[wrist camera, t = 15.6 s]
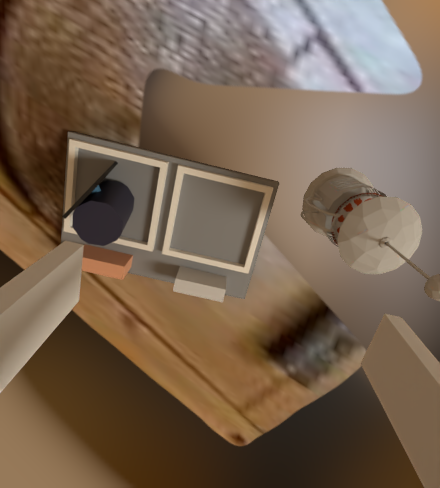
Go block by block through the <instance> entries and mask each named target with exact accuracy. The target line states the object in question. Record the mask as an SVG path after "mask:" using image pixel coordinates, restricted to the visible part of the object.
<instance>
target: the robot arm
mask: <svg viewBox="0 0 440 488" xmlns="http://www.w3.org/2000/svg"><path fill="white" fill-rule="evenodd" d="M83 248H84V245H82V244H78V243H74V242H69V241H64V242H63V243H62V244H60V245H59V246H57V247H56V248H55V249H53V250H52V251H50V252H49V253H48V254H46V255H45V256H44V257H42V258H41V259H39V260H38V261H37V262H35V263H34V264H32V265H31V266H30V267H28V268H27V269H26V270H24V271H23V272H21V273H20V274H19V275H17V276H16V277H15V278H13V279H12V280H10V281H9V282H8V283H6V284H5V285H3V286H2V287H1V288H0V393H1V391H2V390H3V389H4V388H5V387H6V385H7V384H8V383H9V382H10V381H11V380H12V379H13V377H14V376H15V375H16V374H17V373H18V372H19V370H20V369H21V368H22V367H23V366H24V365H25V363H26V362H27V361H28V360H29V359H30V358H31V356H32V355H33V354H34V352H36V350H37V349H38V348H39V347H40V346H41V345H42V343H43V342H44V341H45V340H46V339H47V338H48V336H49V335H50V334H51V333H52V332H53V331H54V329H55V328H56V327H57V326H58V325H59V324H60V322H61V321H62V320H63V319H64V318H65V317H66V315H67V314H68V313H69V312H70V311H71V310H72V308H73V307H74V306H75V305H76V304H77V303H78V301H79V293H80V282H81V271H82V259H83ZM361 365H362V367H363V369H364V371H365V373H366V375H367V377H368V379H369V381H370V383H371V385H372V387H373V389H374V390H375V392H376V394H377V396H378V398H379V400H380V402H381V404H382V406H383V408H384V410H385V412H386V414H387V416H388V418H389V420H390V422H391V423H392V425H393V427H394V429H395V431H396V433H397V435H398V437H399V439H400V441H401V443H402V445H403V447H404V449H405V451H406V453H407V455H408V457H409V459H410V461H411V463H412V465H413V466H414V468H415V470H416V472H417V474H418V476H419V478H420V480H421V482H422V484H423V486H424V488H440V363H439V362H438V361H437V359H436V358H435V357H434V356H433V355H432V353H431V352H430V351H429V350H428V349H427V347H426V346H425V345H424V344H423V343H422V342H421V340H420V339H419V338H418V337H417V336H416V334H415V333H414V332H413V331H412V329H411V328H410V327H409V326H408V325H407V324H406V322H405V321H404V320H403V319H402V318H401V317H396V316H392V315H388V314H385V315H384V316H383V319H382V320H381V323H380V325H379V327H378V329H377V331H376V333H375V335H374V337H373V339H372V341H371V343H370V345H369V347H368V349H367V351H366V353H365V356H364V358H363V360H362V362H361Z"/></svg>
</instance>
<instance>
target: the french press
mask: <svg viewBox="0 0 440 488" xmlns="http://www.w3.org/2000/svg"><path fill="white" fill-rule="evenodd" d="M374 190H375V191H376V189H375V188H373V185H372V184H371V183H370V181H369V180H368V179H367V177H366V176H365V175H364V174H362V173H360V172H358V171H356V170H354V169H352V168H335V169H332V170H329V171H327V172H324V173H322V174H321V175H320V176H318V178H316V179H315V180H314V181H313V182H311V184H310V186H309V187H308V189H307V191H306V193H305V195H304V200H303V212H302V213H301V217H302V218H303V219H304V220H305V221H306V222H307V223H308V224H309V225H310V226H311V228H312V229H313V230H314V231H315V232H318V233H320V234H322V235H324V236H327V237H328V238H329V237H330V238H331V237H332V238H333V239H332V238H331V239H332V241H331V242H332V243H333V244H334V245H336V244H337V245H338V246H337V245H336V246H337V247H338V248H339V252H340V256H341V258H342V259H343V260H344V261H345V262H346V263H347V264H348V266H349V267H350V268H352V269H355V270H357V271H359V272H362V273H364V274H381V273H385V272H388V271H391V270H395V269H396V268H398V267H399V266H401V265H402V264H404V263H405V262H407V263H408V264H410V265H411V266H412V267H413V268H415V269H416V270H417V271H418V272H419V273H420V274H422V275H423V276H424V277H425V278H427V279H428V280H427V282H426V283H425V287H424V290H425V293H426V294H427V295H428V297H430V298H433V299H435V300H437V301H440V274H438V275H434V276H432V277H429V276H428V275H427V274H426V273H424V272H423V271H422V270H421V269H420V268H418V267H417V266H416V265H415V264H413V263H412V262H411V261H410V260H409V259H410V257H411V256H412V255H413V253H414V252H415V250H416V249H417V248H418V246H419V242H420V238H421V235H422V226H421V221H420V216H419V215H418V214H417V212H416V211H415V209H414V208H413V207H412V206H411V204H409V203H407V202H405V201H403V200H401V199H399V198H397V197H387V196H386V195H385V194H384V193H382V192H380V191H378V192H379V193H380V195H379V193H378V192H377V191H376V193H375V192H374ZM303 214H304V216H305V217H304V216H303ZM330 238H329V239H330ZM333 240H334V242H333Z"/></svg>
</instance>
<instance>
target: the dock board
mask: <svg viewBox="0 0 440 488" xmlns="http://www.w3.org/2000/svg"><path fill="white" fill-rule="evenodd" d="M115 161H116V162H117V163H118V164H117V165H116V166H115V167H114V168H113V169H112V171H111V172H110V173H109V174H108V175H107V176H106V177H105V178H104V179H103V181H102V182H101V183H103V182H105V181H107V180H111V181H116V182H122V183H123V184H125V185H126V186H128V188H129V190H130V191H131V193H132V195H133V196H134V207H133V211H132V213H131V215H130V218H129V220H128V222H127V224H126V226H125V228H124V230H123V232H122V234H121V236H120V237H119V238H118V240H117V241H114V242H112V243H110V244H107V245H105V246H100V245H93V244H88V243H86V242H85V241H83V240H81V238H80V237H79V236H78V234H77V233H76V231H75V230H74V229H73V227H72V223H73V212H74V211H73V212H72V213H71V214H70V215H69V216H68V217H67V218H66V219H65V218H64V217H63V219H62V235H61V244H62V243H63V242H64V241H69V242H74V243H78V244H82V245H84V248H83V259H82V271H86V272H91V273H95V274H100V275H104V276H108V277H113V278H117V279H122V280H123V278H124V277H125V276H126V274H127V273H131V274H136V275H140V276H144V277H149V278H153V279H158V280H162V281H166V282H171V283H175V284H174V288H173V291H175V292H179V293H184V294H188V295H193V296H197V297H201V298H206V299H210V300H215V301H219V302H223V299H224V295H228V296H233V297H237V298H241V299H245V296H246V293H247V289H248V286H249V283H250V279H251V276H252V273H253V269H254V266H255V263H256V259H257V256H258V253H259V249H260V246H261V243H262V239H263V236H264V232H265V229H266V226H267V222H268V219H269V216H270V212H271V209H272V206H273V202H274V199H275V195H276V192H277V189H278V185H279V182H278V181H274V180H270V179H266V178H261V177H257V176H253V175H249V174H245V173H241V172H237V171H232V170H229V169H225V168H220V167H216V166H212V165H208V164H204V163H200V162H196V161H191V160H187V159H183V158H179V157H175V156H171V155H167V154H163V153H159V152H155V151H150V150H146V149H142V148H138V147H134V146H130V145H126V144H122V143H118V142H114V141H109V140H105V139H101V138H97V137H93V136H89V135H85V134H81V133H77V132H68V140H67V156H66V172H65V187H64V203H63V215H64V214H65V213H66V212H67V211H68V210H69V209H70V208H71V207H72V206H73V205H74V203H75V202H76V201H77V200H78V199H79V198H80V197H81V196H82V195H83V194H84V193H85V192H86V191H87V190H88V189H89V188H90V187H91V186H92V185H93V184H94V183H95V182H96V181H97V180H98V179H99V178H100V177H101V176H102V174H103V173H104V172H105V171H106V170H107V169H108V168H109V167H110V166H111V165H112V164H113V163H114V162H115ZM101 183H100V184H101Z"/></svg>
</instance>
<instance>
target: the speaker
mask: <svg viewBox="0 0 440 488" xmlns="http://www.w3.org/2000/svg"><path fill="white" fill-rule="evenodd" d="M117 164H118V163H117V162H116V161H115V162H114V163H113V164H112V165H111V166H110V167H109V168H108V169H107V170H106V171H105V172H104V173H103V174H102V176H101V177H100V178H99V179H98V180H97V181H96V182H95V183H94V184H93V185H92V186H91V187H90V188H89V189H88V190H87V191H86V192H85V193H84V194H83V195H82V196H81V197H80V198H79V199H78V200H77V201H76V202H75V203H74V205H73V206H72V207H71V208H70V209H69V210H68V211H67V212H66V213H65V214H64V215H63V216H62V217H64V218H65V219H66V218H67V217H68V216H69V215H70V214H71V213H72V212H73V211H74V212H73V223H72V227H73V229H74V230H75V231H76V233H77V234H78V236H79V237H80V238H81V240H83V241H85V242H86V243H88V244H93V245H100V246H105V245H107V244H110V243H112V242H114V241H117V240H118V238H119V237H120V236H121V234H122V232H123V230H124V228H125V226H126V224H127V222H128V220H129V218H130V215H131V213H132V211H133V207H134V196H133V195H132V193H131V191H130V190H129V188H128V186H126V185H125V184H123V183H122V182H116V181H111V180H107V181H105V182H103V183H101V182H102V181H103V179H104V178H105V177H106V176H107V175H108V174H109V173H110V172H111V171H112V169H113V168H114V167H115V166H116V165H117ZM100 183H101V184H100Z"/></svg>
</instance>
